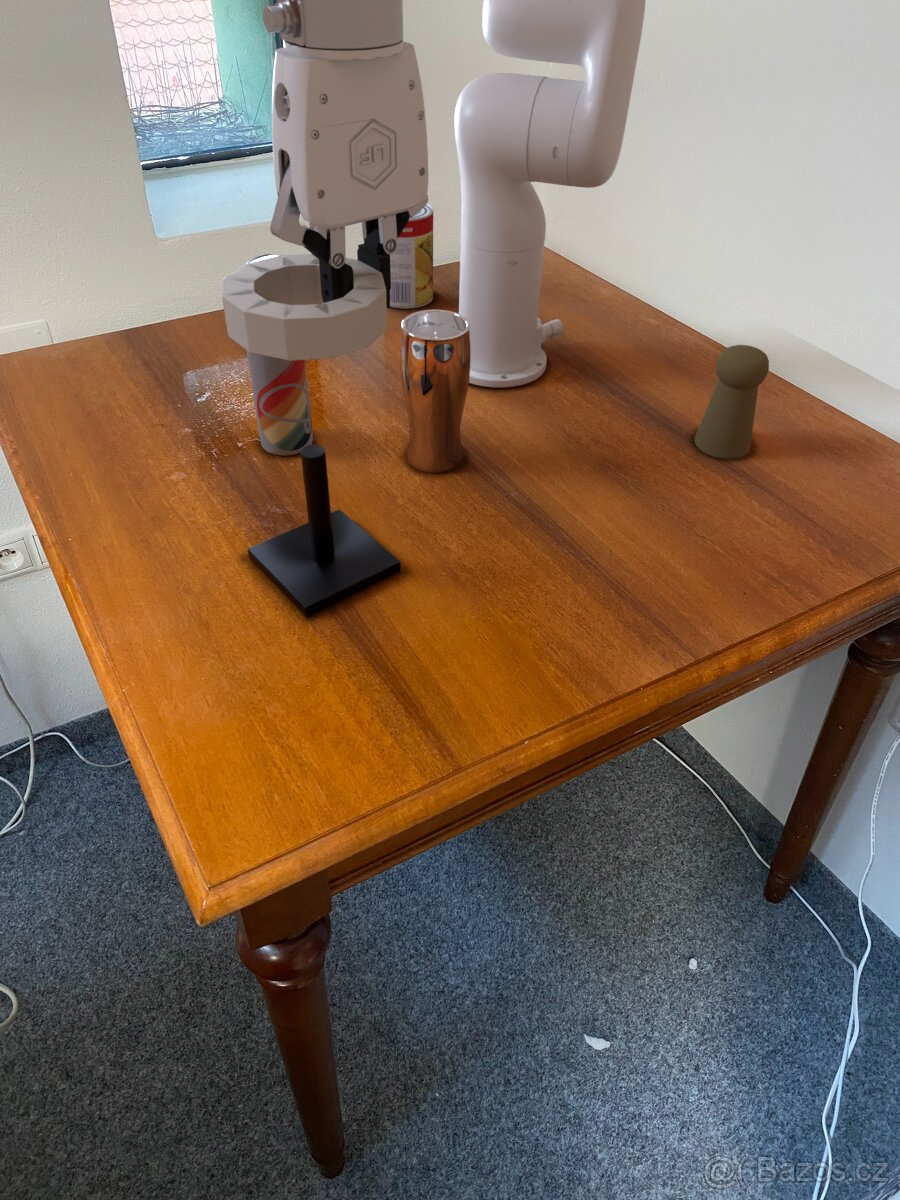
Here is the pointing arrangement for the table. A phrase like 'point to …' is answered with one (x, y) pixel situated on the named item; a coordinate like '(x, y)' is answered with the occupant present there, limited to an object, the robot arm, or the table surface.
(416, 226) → the canned food
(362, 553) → the post
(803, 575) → the table surface
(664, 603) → the table surface
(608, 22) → the robot arm
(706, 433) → the olive pawn figure
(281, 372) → the lotion bottle
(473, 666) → the table surface
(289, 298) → the tape roll
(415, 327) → the beer glass
